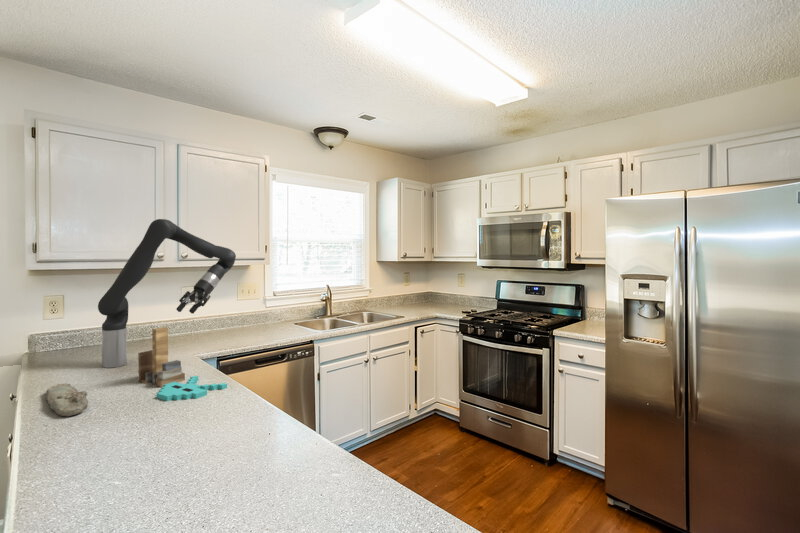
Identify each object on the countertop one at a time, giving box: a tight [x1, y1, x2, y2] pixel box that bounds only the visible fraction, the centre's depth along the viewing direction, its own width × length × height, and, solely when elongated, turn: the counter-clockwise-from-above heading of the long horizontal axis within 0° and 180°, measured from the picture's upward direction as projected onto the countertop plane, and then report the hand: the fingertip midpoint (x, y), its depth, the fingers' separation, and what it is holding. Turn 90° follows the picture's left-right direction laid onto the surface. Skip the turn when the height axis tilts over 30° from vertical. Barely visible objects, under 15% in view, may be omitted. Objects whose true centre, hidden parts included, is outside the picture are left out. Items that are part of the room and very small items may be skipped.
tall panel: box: [151, 326, 169, 374], centre depth 165 cm, size 2×5×22 cm, turn 154°
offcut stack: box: [155, 359, 186, 388], centre depth 162 cm, size 4×10×8 cm, turn 154°
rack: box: [137, 349, 157, 386], centre depth 166 cm, size 10×10×12 cm
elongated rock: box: [44, 383, 89, 417], centre depth 141 cm, size 35×5×10 cm
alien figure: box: [156, 375, 228, 402], centre depth 154 cm, size 20×2×20 cm
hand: (184, 311), depth 174 cm, fingers open, 8 cm apart
